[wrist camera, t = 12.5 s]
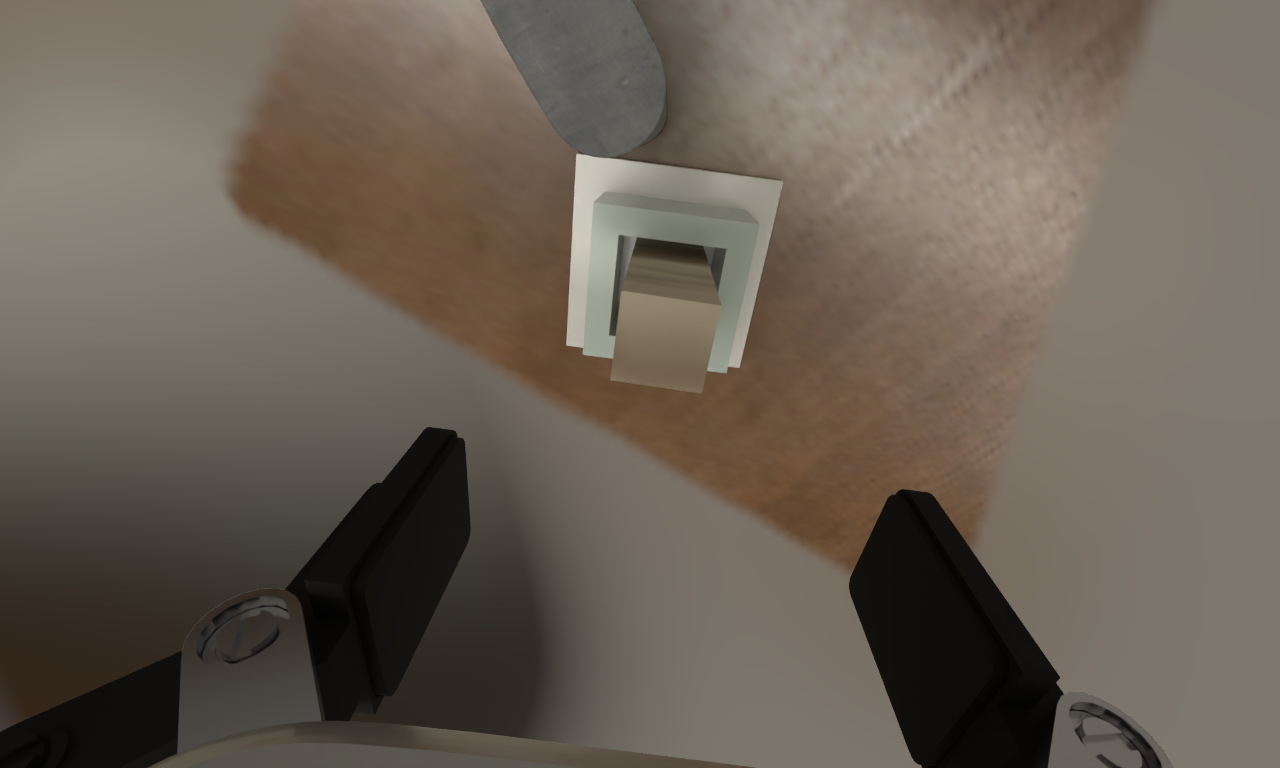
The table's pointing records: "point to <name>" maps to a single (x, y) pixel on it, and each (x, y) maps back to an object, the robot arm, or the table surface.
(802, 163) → the table surface
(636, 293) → the beech peg
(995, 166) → the table surface
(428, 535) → the robot arm
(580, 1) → the hip flask
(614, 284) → the socket holder
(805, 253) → the table surface
